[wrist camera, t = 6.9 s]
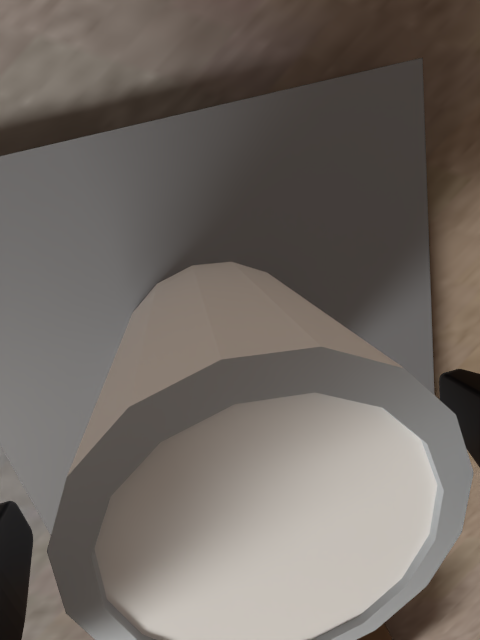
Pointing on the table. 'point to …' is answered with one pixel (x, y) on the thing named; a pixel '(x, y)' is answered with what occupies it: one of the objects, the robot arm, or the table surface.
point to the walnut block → (378, 634)
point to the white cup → (254, 474)
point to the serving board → (207, 239)
